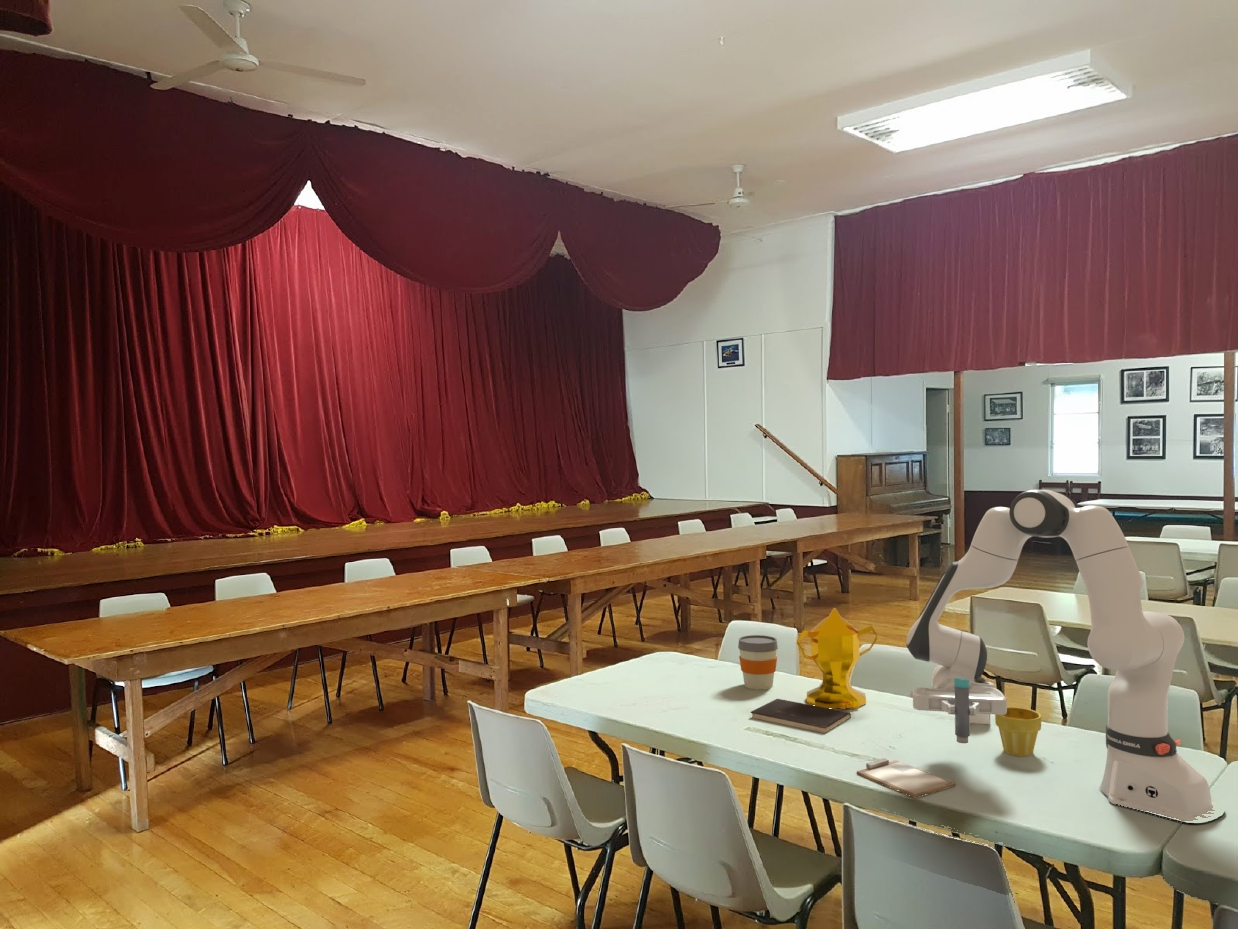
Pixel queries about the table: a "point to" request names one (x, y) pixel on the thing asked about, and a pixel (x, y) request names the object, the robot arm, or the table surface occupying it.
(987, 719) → the medicine bottle
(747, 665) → the reusable coffee cup
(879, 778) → the clipboard
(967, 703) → the marker
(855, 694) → the trophy cup
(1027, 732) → the plant pot
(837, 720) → the hardcover book
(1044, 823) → the table surface
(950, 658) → the robot arm
